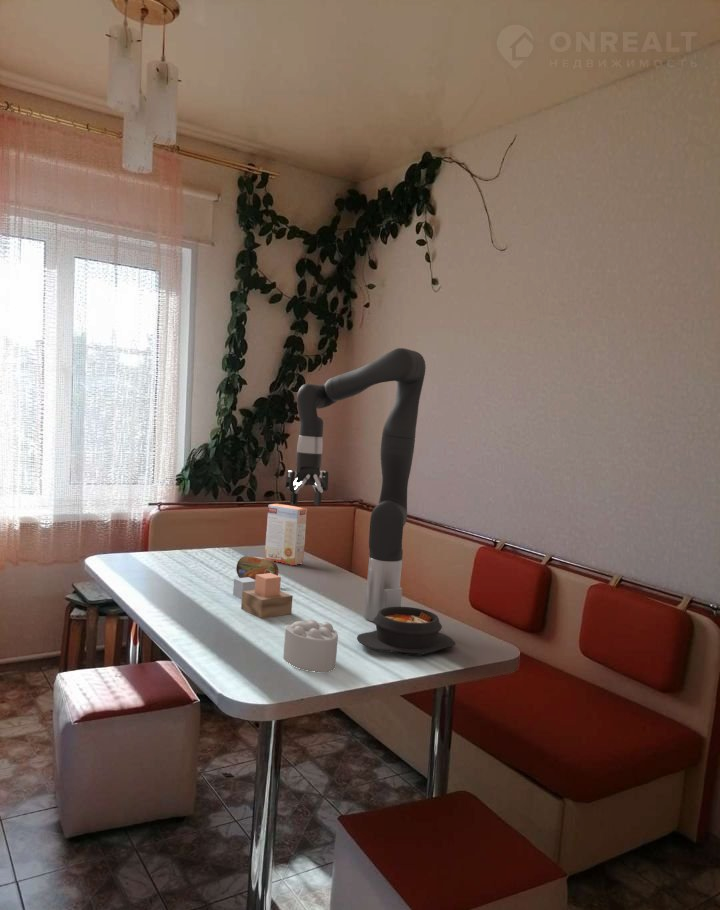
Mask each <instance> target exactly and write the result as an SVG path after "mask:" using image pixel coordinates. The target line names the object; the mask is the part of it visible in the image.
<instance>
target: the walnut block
mask: <svg viewBox="0 0 720 910" xmlns="http://www.w3.org/2000/svg"><path fill="white" fill-rule="evenodd" d="M293 597H294V596H293V595H291V594H289V593H286V592H284V591H282V590H280V595H274V596H267V597H264V596H262V595H259V594H257V593H255V590H247V591H242V599H241V607H240V608H241V610H242V611H244V612H246V613H249V614H251V615H254V616H255V617H258V618H259V619H265V618H266V619H268V618H272V617H278V616H285V615H291V614H292V608H293Z"/></svg>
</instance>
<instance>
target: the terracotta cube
mask: <svg viewBox="0 0 720 910" xmlns="http://www.w3.org/2000/svg"><path fill="white" fill-rule="evenodd" d="M281 579H282V577H281V576H280V575H278V576H277V575H275V574H272V573H266V574H257V575H256V578H255V593H257V594H259V595H262V596H264V597H267V596H274V595H280V591H281V581H282V580H281Z"/></svg>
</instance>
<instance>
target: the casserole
mask: <svg viewBox="0 0 720 910" xmlns="http://www.w3.org/2000/svg"><path fill="white" fill-rule="evenodd" d="M374 624H375V627H376V628H375V630H372V631H367V632H362V633H359V634H358V635H357V636H356V640H357V641H358V642H359V644H361V645H362V646H364V647H366V648H368V649H371V650H373V651H380V652H392V653H396V654H401V655H406V654H407V656H413V655H414V656H417V654H418V655H424V654H423V653H425V654H431V653H435V652H438V651H441V650H442V649H448V648H453V647H454V646H455V645H456V642H455V641H454V639H453V638H451V637H450V636H449V635H447V634H445V633H442V632H440V631H441V630H442V629H443V626H442V624H441V622H440V618H439V617H438V615H437V614H436V613H433V612H431V611H429V610H425V609H422V608H416V607H409V606H401V607H388V608H383V609H381V610H380V611H379V612H378V614H377V616H376V617H375V618H374Z"/></svg>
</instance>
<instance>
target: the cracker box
mask: <svg viewBox="0 0 720 910" xmlns="http://www.w3.org/2000/svg"><path fill="white" fill-rule="evenodd" d="M307 512H308V508H305V507H300V506H293V505H288V504H283V503H270V504H268V507H267V519H266V521H267V522H266V531H265V533H266V535H265V549H264V550H265V551H264V558H265V559H270V560H273V561H277V562H276V563H278V562H281V563H280V564H283V563H285V564H284V565H287V564H290V565H289V566H292V565H296V566H298V565H297V564H300V563H303V564H304V559H305V558H304V554H305V545H306V544H305V543H306V542H305V541H306V528H307V527H306V526H307V518H308V517H307V514H308V513H307Z"/></svg>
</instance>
